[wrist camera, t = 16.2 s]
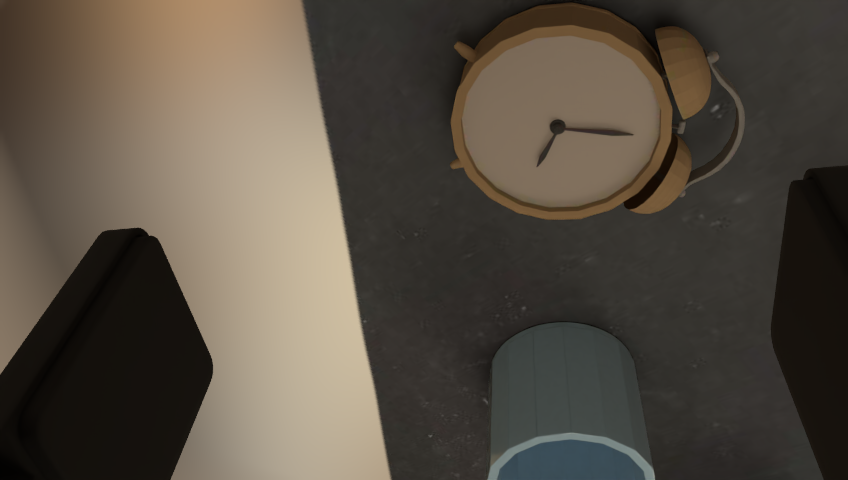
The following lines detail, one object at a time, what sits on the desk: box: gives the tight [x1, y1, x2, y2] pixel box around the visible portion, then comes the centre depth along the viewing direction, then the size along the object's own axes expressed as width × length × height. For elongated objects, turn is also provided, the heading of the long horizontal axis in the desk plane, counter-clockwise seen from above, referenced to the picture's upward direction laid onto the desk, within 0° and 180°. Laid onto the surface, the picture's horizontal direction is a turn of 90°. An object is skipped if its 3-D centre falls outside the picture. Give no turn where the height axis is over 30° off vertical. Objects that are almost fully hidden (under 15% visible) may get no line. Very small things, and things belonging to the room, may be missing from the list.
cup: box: [486, 322, 656, 480], centre depth 52 cm, size 10×10×10 cm
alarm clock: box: [450, 3, 745, 220], centre depth 41 cm, size 11×5×15 cm
